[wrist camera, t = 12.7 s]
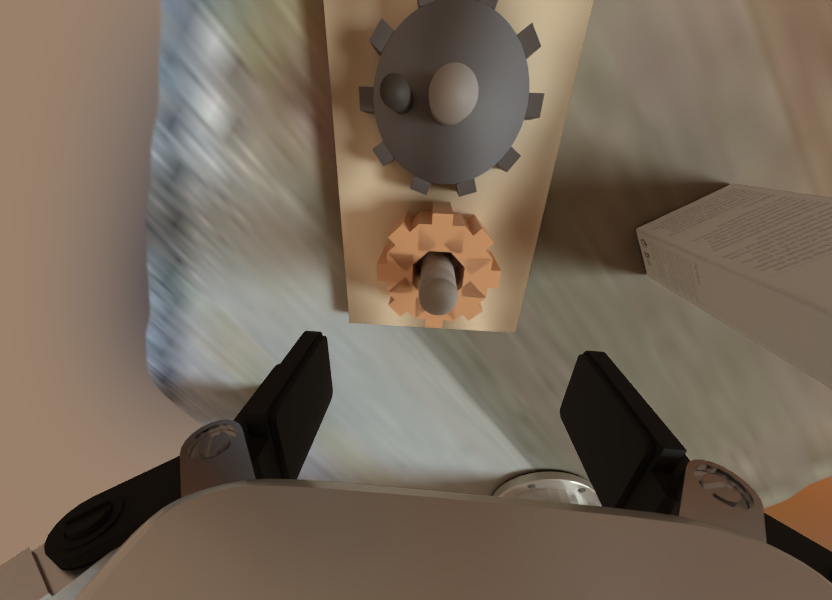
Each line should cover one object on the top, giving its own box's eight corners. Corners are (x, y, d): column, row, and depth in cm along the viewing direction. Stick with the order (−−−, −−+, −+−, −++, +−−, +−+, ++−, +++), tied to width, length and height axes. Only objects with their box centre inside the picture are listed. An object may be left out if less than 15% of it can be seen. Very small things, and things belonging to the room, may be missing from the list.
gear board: (585, -13, 15) (736, -166, 8) (510, 322, 24) (544, 402, 17) (330, -20, 15) (232, -173, 8) (353, 312, 25) (319, 387, 17)
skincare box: (645, 277, 22) (839, 402, 12) (632, 227, 20) (844, 320, 10) (741, 237, 20) (1071, 341, 10) (735, 179, 19) (1122, 229, 8)
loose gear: (498, 204, 19) (511, 217, 16) (482, 304, 22) (489, 331, 19) (385, 198, 19) (375, 210, 16) (385, 298, 22) (378, 323, 19)
